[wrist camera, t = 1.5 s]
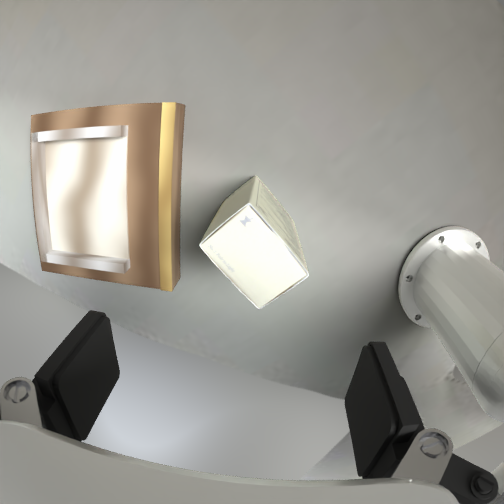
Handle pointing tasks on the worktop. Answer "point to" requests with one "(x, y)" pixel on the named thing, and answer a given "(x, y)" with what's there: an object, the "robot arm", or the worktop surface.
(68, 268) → the dock
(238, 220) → the skincare box
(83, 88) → the worktop surface
